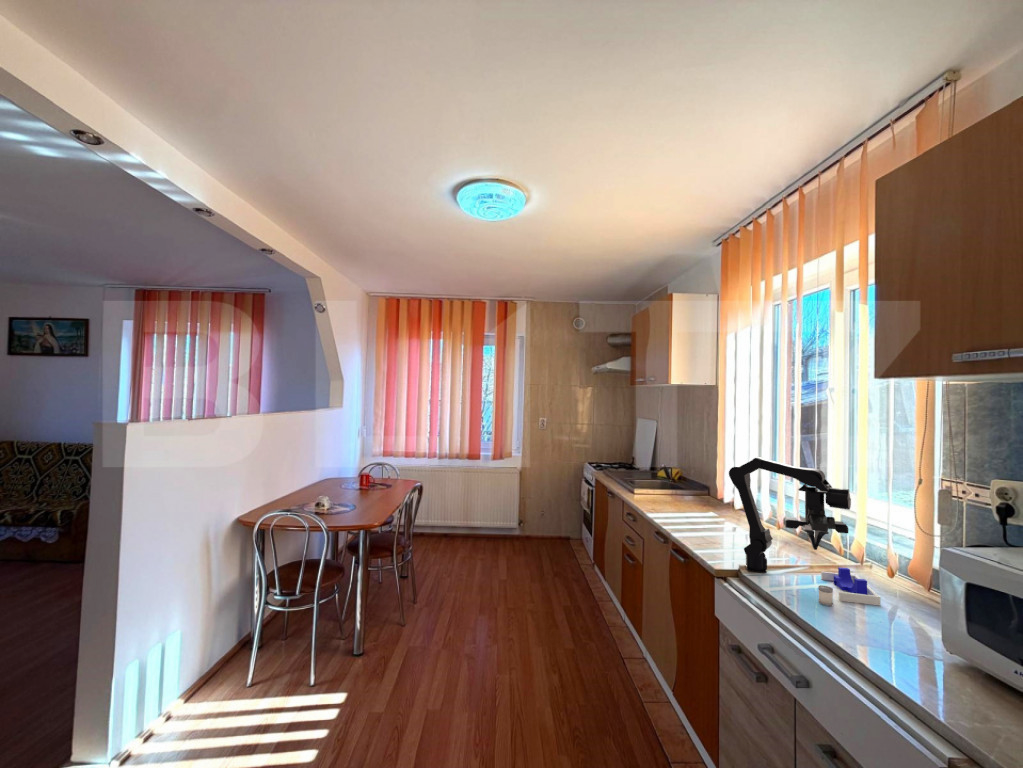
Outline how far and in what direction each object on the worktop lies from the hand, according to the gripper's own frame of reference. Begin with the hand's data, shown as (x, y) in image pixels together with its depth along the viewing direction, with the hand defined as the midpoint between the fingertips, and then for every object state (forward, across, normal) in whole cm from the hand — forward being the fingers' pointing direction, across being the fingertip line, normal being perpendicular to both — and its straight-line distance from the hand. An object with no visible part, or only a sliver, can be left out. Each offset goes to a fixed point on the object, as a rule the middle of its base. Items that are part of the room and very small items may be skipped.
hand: (814, 549), depth 166 cm
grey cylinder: (+12, -1, -18) cm, 22 cm away
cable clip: (+12, +9, -3) cm, 16 cm away
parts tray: (+12, +8, -4) cm, 15 cm away
